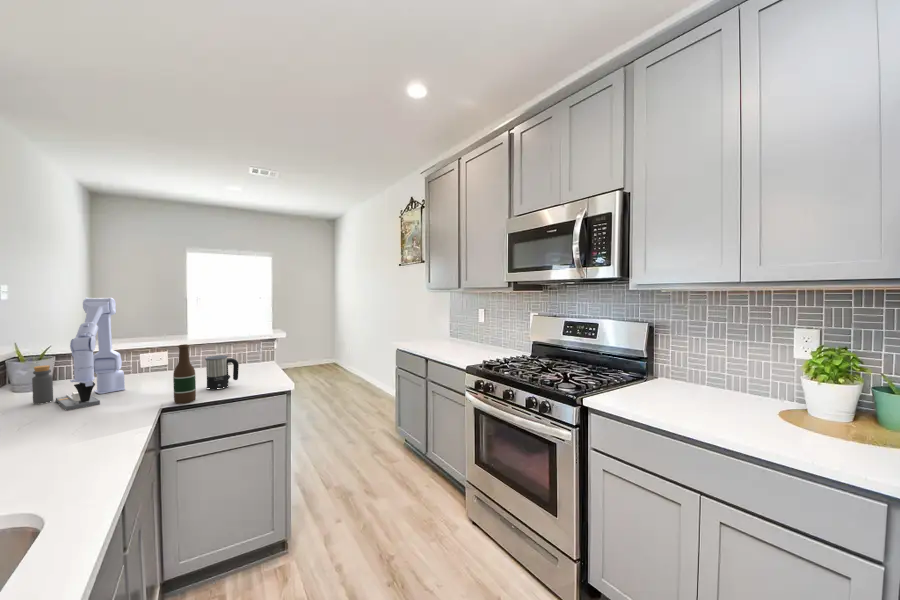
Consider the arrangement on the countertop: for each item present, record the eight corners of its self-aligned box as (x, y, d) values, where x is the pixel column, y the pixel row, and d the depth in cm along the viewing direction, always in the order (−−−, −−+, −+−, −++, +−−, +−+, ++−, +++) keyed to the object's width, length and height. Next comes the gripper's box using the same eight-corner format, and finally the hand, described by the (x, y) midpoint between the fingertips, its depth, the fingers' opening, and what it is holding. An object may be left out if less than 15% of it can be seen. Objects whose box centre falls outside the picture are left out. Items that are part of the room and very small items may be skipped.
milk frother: (212, 391, 181) (211, 359, 180) (194, 386, 189) (194, 356, 189) (242, 384, 193) (241, 355, 192) (224, 380, 201) (224, 351, 201)
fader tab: (87, 398, 162) (86, 389, 162) (89, 400, 160) (89, 391, 160) (72, 401, 159) (72, 392, 158) (75, 403, 156) (74, 393, 156)
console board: (87, 395, 172) (87, 390, 172) (99, 404, 161) (99, 398, 161) (55, 401, 164) (55, 396, 164) (66, 410, 153) (66, 404, 153)
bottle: (40, 404, 160) (38, 368, 159) (29, 403, 161) (27, 367, 161) (57, 400, 166) (55, 365, 165) (46, 399, 167) (45, 364, 166)
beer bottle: (200, 399, 168) (199, 344, 167) (182, 404, 161) (181, 346, 160) (187, 397, 171) (185, 343, 170) (169, 402, 164) (167, 345, 163)
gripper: (65, 366, 156) (66, 400, 157) (74, 371, 147) (76, 407, 148) (89, 363, 162) (90, 396, 162) (99, 368, 153) (100, 402, 154)
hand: (85, 401), depth 156 cm, fingers closed
